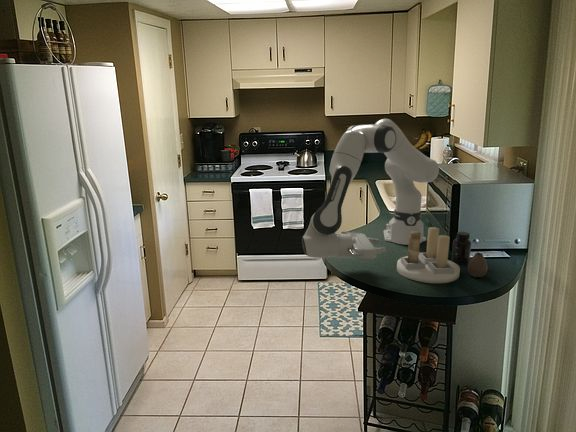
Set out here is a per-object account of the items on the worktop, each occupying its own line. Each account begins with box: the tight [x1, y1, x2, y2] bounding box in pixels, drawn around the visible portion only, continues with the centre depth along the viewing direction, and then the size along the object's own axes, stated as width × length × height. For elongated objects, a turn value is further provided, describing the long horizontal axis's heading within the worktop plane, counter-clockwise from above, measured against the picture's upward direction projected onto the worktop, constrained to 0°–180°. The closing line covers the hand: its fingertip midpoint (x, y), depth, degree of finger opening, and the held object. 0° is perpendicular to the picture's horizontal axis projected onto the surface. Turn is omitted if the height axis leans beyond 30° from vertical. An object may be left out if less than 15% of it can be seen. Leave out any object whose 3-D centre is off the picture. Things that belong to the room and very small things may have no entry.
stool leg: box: [407, 231, 421, 263], centre depth 182 cm, size 4×4×13 cm
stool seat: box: [396, 226, 461, 284], centre depth 183 cm, size 23×23×16 cm
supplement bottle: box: [451, 231, 472, 265], centre depth 194 cm, size 7×7×12 cm
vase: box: [467, 252, 489, 278], centre depth 180 cm, size 7×7×9 cm
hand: (382, 245), depth 181 cm, fingers open, 8 cm apart
